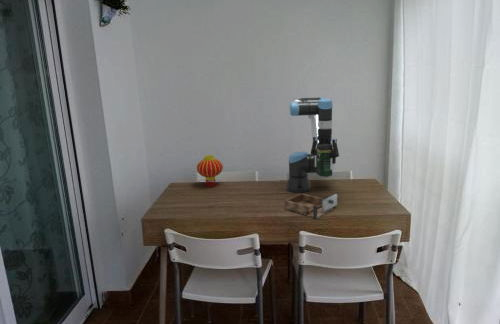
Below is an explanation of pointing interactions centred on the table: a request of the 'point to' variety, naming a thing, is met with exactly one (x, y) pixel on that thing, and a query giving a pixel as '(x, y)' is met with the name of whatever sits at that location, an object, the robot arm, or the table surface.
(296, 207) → the open wooden box
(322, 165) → the coffee jar
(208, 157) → the lantern
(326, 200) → the grey flat panel
